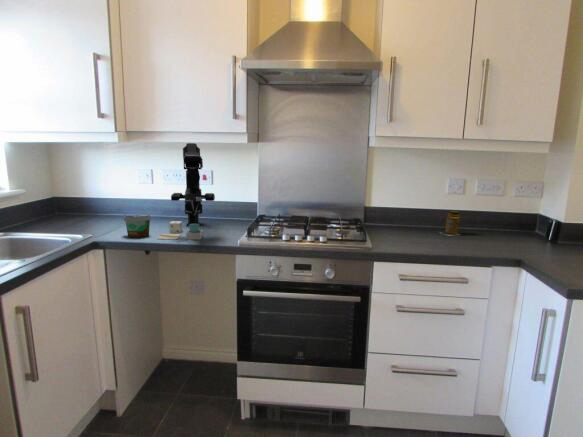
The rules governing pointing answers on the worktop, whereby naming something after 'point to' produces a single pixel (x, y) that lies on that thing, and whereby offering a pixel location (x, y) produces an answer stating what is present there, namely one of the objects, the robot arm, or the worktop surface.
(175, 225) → the die
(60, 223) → the worktop surface
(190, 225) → the dome button
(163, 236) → the birch tile
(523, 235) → the worktop surface
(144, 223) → the food container
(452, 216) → the condiment
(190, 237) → the dome base
